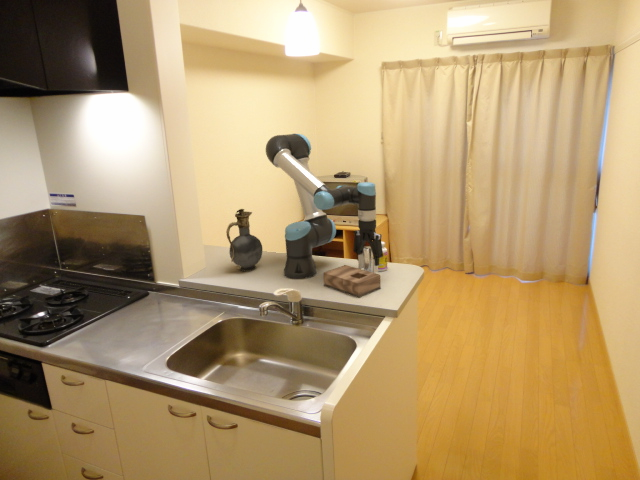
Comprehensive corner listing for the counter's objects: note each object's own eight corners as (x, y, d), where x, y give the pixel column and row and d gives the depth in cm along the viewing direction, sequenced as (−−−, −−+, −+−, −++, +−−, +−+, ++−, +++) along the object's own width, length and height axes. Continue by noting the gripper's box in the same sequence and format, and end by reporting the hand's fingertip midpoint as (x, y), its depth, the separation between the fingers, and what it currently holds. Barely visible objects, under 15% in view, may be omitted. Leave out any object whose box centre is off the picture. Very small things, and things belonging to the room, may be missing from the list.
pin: (361, 278, 199) (361, 247, 195) (368, 276, 201) (367, 245, 198) (368, 280, 196) (368, 249, 192) (374, 278, 198) (374, 247, 195)
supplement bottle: (386, 271, 206) (386, 244, 202) (372, 271, 207) (371, 244, 204) (387, 267, 212) (387, 240, 209) (373, 266, 213) (373, 240, 210)
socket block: (324, 285, 192) (323, 272, 191) (345, 277, 200) (345, 264, 199) (358, 297, 178) (358, 283, 176) (380, 288, 186) (380, 274, 184)
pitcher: (267, 265, 223) (262, 205, 215) (240, 277, 208) (233, 213, 200) (250, 262, 229) (245, 204, 221) (223, 274, 213) (216, 211, 206)
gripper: (343, 217, 197) (345, 267, 203) (379, 224, 182) (380, 277, 188) (355, 214, 201) (357, 263, 207) (391, 220, 187) (392, 273, 193)
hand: (368, 270), depth 198 cm, fingers open, 8 cm apart
